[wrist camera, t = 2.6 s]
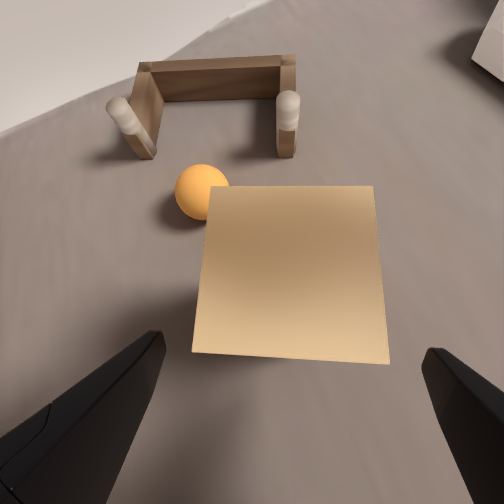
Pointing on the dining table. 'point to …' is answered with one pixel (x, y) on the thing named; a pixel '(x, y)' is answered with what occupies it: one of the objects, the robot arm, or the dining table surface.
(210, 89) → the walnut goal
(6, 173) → the dining table surface
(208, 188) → the orange ball
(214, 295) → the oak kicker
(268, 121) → the dining table surface
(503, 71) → the crystal
